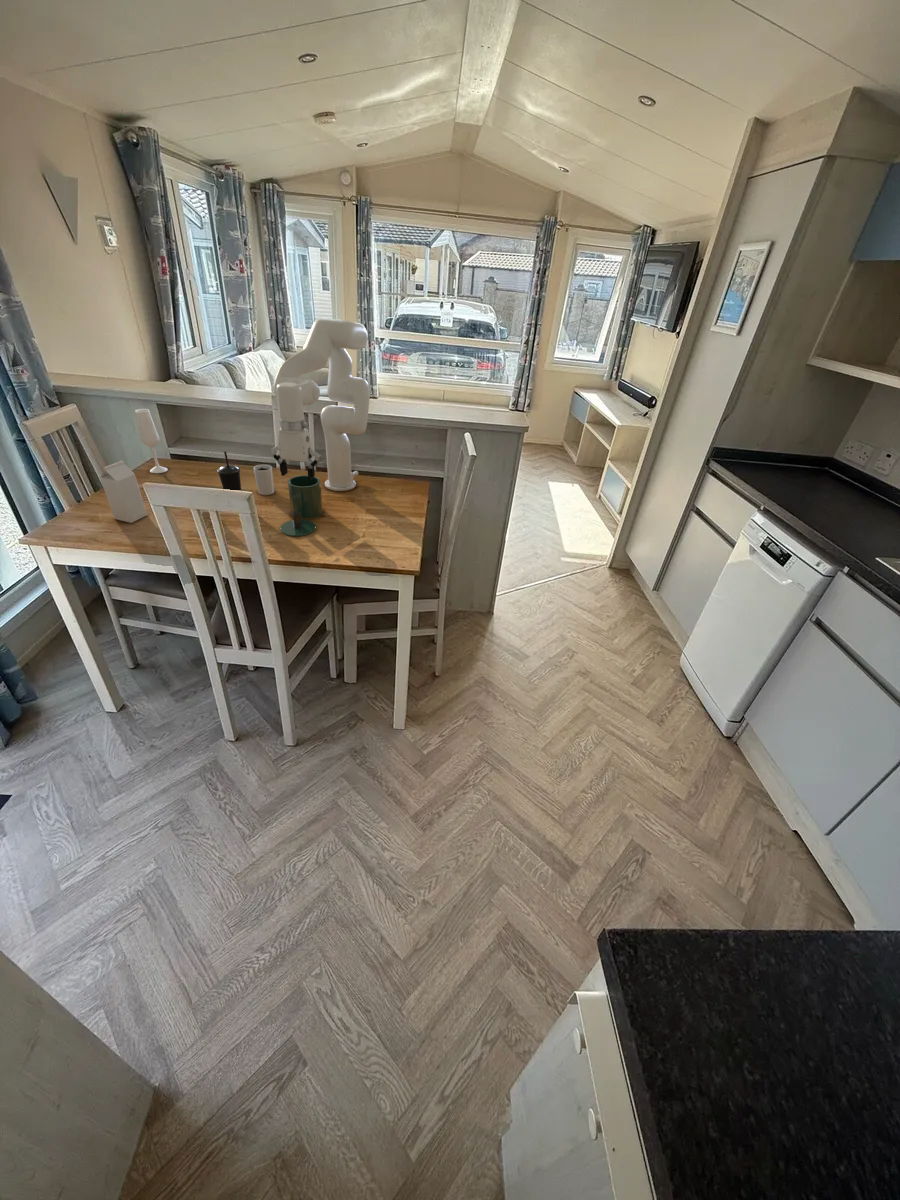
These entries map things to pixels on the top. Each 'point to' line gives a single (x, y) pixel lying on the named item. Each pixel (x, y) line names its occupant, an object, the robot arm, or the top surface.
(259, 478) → the drinking glass
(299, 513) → the lid
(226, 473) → the drinking cup
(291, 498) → the canister
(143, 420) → the champagne flute
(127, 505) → the milk carton
